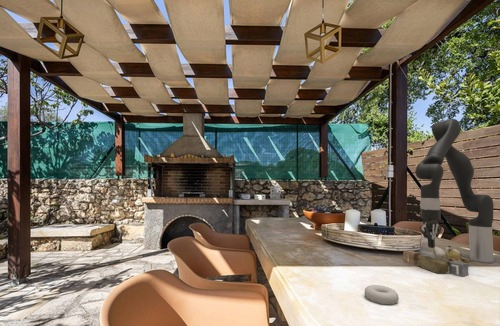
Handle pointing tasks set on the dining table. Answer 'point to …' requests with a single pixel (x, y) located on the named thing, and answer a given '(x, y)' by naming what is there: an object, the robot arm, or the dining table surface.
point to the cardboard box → (410, 257)
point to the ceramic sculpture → (449, 254)
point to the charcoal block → (458, 268)
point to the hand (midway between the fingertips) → (431, 247)
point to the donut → (381, 294)
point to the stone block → (432, 264)
